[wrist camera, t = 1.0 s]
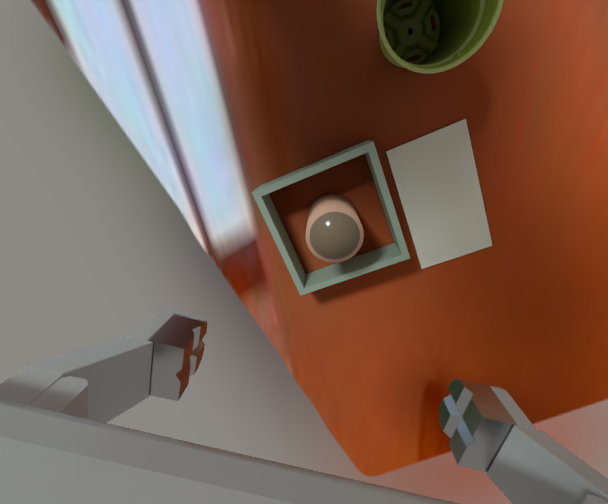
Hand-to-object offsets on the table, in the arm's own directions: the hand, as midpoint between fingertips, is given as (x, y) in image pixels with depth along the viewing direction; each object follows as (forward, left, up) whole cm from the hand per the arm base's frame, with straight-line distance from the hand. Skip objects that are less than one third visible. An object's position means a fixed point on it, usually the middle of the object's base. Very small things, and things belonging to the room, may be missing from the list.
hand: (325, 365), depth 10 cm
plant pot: (-12, +14, -30) cm, 35 cm away
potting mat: (+6, +13, -30) cm, 33 cm away
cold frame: (+3, 0, -30) cm, 30 cm away
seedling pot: (+3, 0, -30) cm, 30 cm away
